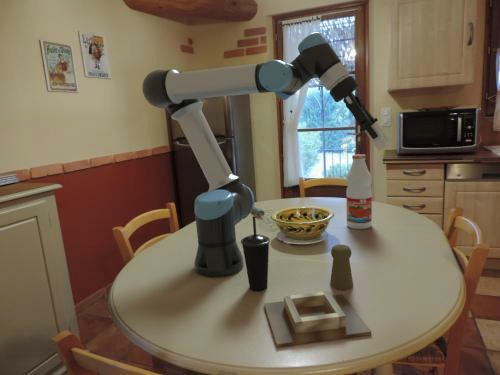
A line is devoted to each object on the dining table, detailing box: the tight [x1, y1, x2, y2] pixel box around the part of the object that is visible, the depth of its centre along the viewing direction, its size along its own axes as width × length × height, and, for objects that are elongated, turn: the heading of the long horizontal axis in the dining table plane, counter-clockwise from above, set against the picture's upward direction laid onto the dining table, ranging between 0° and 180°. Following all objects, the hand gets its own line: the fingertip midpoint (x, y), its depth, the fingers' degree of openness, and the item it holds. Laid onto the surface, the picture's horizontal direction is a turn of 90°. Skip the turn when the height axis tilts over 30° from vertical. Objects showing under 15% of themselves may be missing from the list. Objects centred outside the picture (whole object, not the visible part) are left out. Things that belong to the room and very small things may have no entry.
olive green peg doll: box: [329, 244, 354, 291], centre depth 96 cm, size 6×6×11 cm
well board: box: [263, 290, 372, 349], centre depth 82 cm, size 20×16×4 cm
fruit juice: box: [345, 153, 373, 230], centre depth 139 cm, size 9×9×28 cm
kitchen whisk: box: [251, 205, 277, 228], centre depth 160 cm, size 6×34×6 cm, turn 18°
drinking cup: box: [240, 216, 271, 293], centre depth 96 cm, size 8×8×20 cm
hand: (384, 145), depth 99 cm, fingers open, 13 cm apart
